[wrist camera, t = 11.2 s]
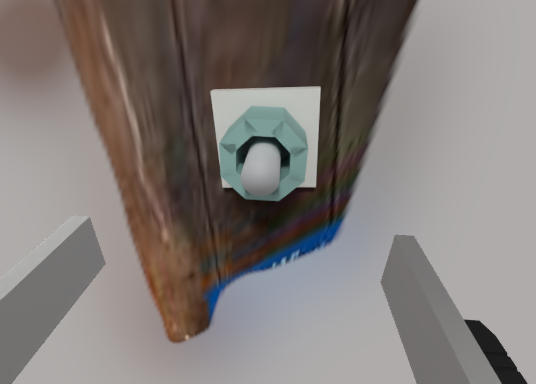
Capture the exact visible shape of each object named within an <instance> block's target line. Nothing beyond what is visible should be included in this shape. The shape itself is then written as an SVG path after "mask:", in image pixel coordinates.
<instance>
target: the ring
mask: <svg viewBox="0 0 536 384" xmlns="http://www.w3.org/2000/svg"><path fill="white" fill-rule="evenodd" d="M251 136H264V137H276V138H277V139H278V140H279V141H280V143H281V144H282V145H283V146H284V147H285V148H286V149H287V150H288V151H289V155H288V156H287V157H286V158H285V159H283V160H282V161H281V162H280V179H279V185H278V187H277V189H276V190H275V191H274V192H273V193H271V194H269V195H266V196H256V195H253V194H250V193H249V192H247V191H246V190H245V189H244V187H243V186H242V184H241V179H240V176H241V172H242V169H243V166H244V163H245V160H246V157H247V155H246V154H245V153H244V152H243V144H244V143H245V142H246V141H247V140H248V139H249V138H250V137H251ZM219 152H220V172H221V177H222V178H223V179H224V180H225V181H226V182H227V183H228V184H229V185H231V186H232V187H233V188H234V189H235V190H236V191H237V192H238V193H239V194H240V195H241V196H242V197H244V198H245V199H253V200H269V201H279V200H281V199H282V198H283V197H285V196H286V195H287V194H289V193H290V192H291V191H292V190H294V189H295V188H296V187H298V186H299V185H300V184H302V183H303V182H304V181H305V173H306V164H307V155H308V144H307V138H306V133H305V130H304V129H303V128H302V127H301V126H300V125H299V124H298V123H297V121H296V120H295V119H294V118H293V117H292V116H291V115H290V113H289V112H288V111H287V110H286V109H285V108H284V107H266V106H251V107H250V108H249V109H247V110H246V111H245V112H244V113H243V114H242V115H241V116H240V117H239V118H238V119H237V120H236V121H235V122H234V123H233V124H232V125H231V126H230V127H229V128H228V130H227V131H226V133H225V135H224V136H223V138H222V139H221V141H220V143H219Z"/></svg>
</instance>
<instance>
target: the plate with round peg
mask: <svg viewBox="0 0 536 384" xmlns="http://www.w3.org/2000/svg"><path fill="white" fill-rule="evenodd" d="M211 99H212V107H213V115H214V123H215V130H216V138H217V146H218V154H219V162H220V152H219V143H220V141H221V139H222V138H223V136H224V135H225V133H226V131H227V130H228V128H229V127H230V126H231V125H232V124H233V123H234V122H235V121H236V120H237V119H238V118H239V117H240V116H241V115H242V114H243V113H244V112H245V111H246V110H247V109H249V108H250V107H251V106H266V107H284V108H285V109H286V110H287V111H288V112H289V113H290V115H291V116H292V117H293V118H294V119H295V120H296V121H297V123H298V124H299V125H300V126H301V127H302V128H303V129H304V130H305V133H306V138H307V144H308V155H307V164H306V173H305V181H304V182H303V183H302V184H300V185H299V186H298V187H316V172H317V151H318V130H319V109H320V86H319V87H285V88H251V89H217V90H212V91H211ZM243 152H244V153H245V154H246V155H247V157H246V160H245V163H244V166H243V169H242V172H241V176H240V179H241V184H242V186H243V187H244V189H245V190H246V191H247V192H249V193H250V194H253V195H256V196H266V195H269V194H271V193H273V192H274V191H275V190H276V189H277V187H278V185H279V179H280V162H281V161H282V160H283V159H285V158H286V157H287V156H288V155H289V151H288V150H287V149H286V148H285V147H284V146H283V145H282V144H281V143H280V141H279V140H278V139H277V138H276V137H264V136H251V137H250V138H249V139H248V140H247V141H246V142H245V143H244V144H243ZM221 178H222V177H221ZM222 186H223V188H231V187H232V186H231V185H229V184H228V183H227V182H226V181H225V180H224V179H223V178H222Z"/></svg>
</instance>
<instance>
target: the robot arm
mask: <svg viewBox="0 0 536 384" xmlns="http://www.w3.org/2000/svg"><path fill="white" fill-rule="evenodd" d="M104 265H105V261H104V258H103V255H102V252H101V249H100V246H99V243H98V240H97V237H96V234H95V231H94V228H93V225H92V222H91V220H90V217H88V216H72V217H70V218H69V219H68V220H67V221H66V222H65V223H63V224H62V225H61V226H60V227H59V228H58V229H56V230H55V231H54V232H53V233H52V234H51V235H50V236H48V237H47V238H46V239H45V240H44V241H43V242H41V243H40V244H39V245H38V246H37V247H36V248H34V249H33V250H32V251H31V252H30V253H29V254H27V255H26V256H25V257H24V258H23V259H22V260H21V261H20V262H18V263H17V264H16V265H15V266H14V267H13V268H11V269H10V270H9V271H8V272H7V273H6V274H4V275H3V276H2V277H1V278H0V384H12V382H13V381H14V380H15V379H16V377H17V376H18V375H19V373H20V372H21V371H22V370H23V368H24V367H25V366H26V365H27V363H28V362H29V360H30V359H31V358H32V357H33V355H34V354H35V353H36V352H37V351H38V349H39V348H40V347H41V345H42V344H43V343H44V342H45V340H46V339H47V337H48V336H49V335H50V334H51V333H52V331H53V330H54V329H55V328H56V326H57V325H58V324H59V322H60V321H61V320H62V319H63V317H64V316H65V315H66V314H67V312H68V311H69V310H70V308H71V307H72V306H73V305H74V303H75V302H76V301H77V299H78V298H79V297H80V296H81V294H82V293H83V292H84V290H85V289H86V288H87V287H88V285H89V284H90V283H91V282H92V280H93V279H94V278H95V277H96V275H97V274H98V273H99V271H100V270H101V269H102V267H103V266H104ZM381 284H382V287H383V290H384V292H385V295H386V298H387V301H388V304H389V307H390V310H391V312H392V315H393V318H394V321H395V324H396V326H397V329H398V332H399V335H400V338H401V341H402V343H403V346H404V349H405V352H406V355H407V357H408V360H409V363H410V366H411V369H412V371H413V374H414V377H415V380H416V383H417V384H527V382H526V381H525V379H524V378H523V376H522V375H521V373H520V372H518V371H517V367H516V366H515V364H514V363H513V361H512V360H511V358H510V357H508V356H507V352H506V351H505V349H504V348H503V346H502V345H501V343H500V342H499V340H498V339H497V337H496V336H495V335H494V334H493V333H492V332H491V331H490V330H489V329H488V328H487V327H485V326H484V325H483V324H482V323H481V322H480V321H475V320H464V319H463V318H462V316H461V315H460V313H459V311H458V309H457V308H456V306H455V304H454V303H453V301H452V299H451V298H450V296H449V294H448V293H447V291H446V289H445V287H444V286H443V284H442V283H441V281H440V279H439V277H438V276H437V274H436V272H435V271H434V269H433V267H432V266H431V264H430V262H429V261H428V259H427V257H426V256H425V254H424V252H423V250H422V249H421V247H420V245H419V244H418V242H417V240H416V239H415V237H414V236H406V235H395V237H394V240H393V244H392V247H391V250H390V254H389V256H388V260H387V263H386V266H385V270H384V273H383V276H382V280H381Z"/></svg>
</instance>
